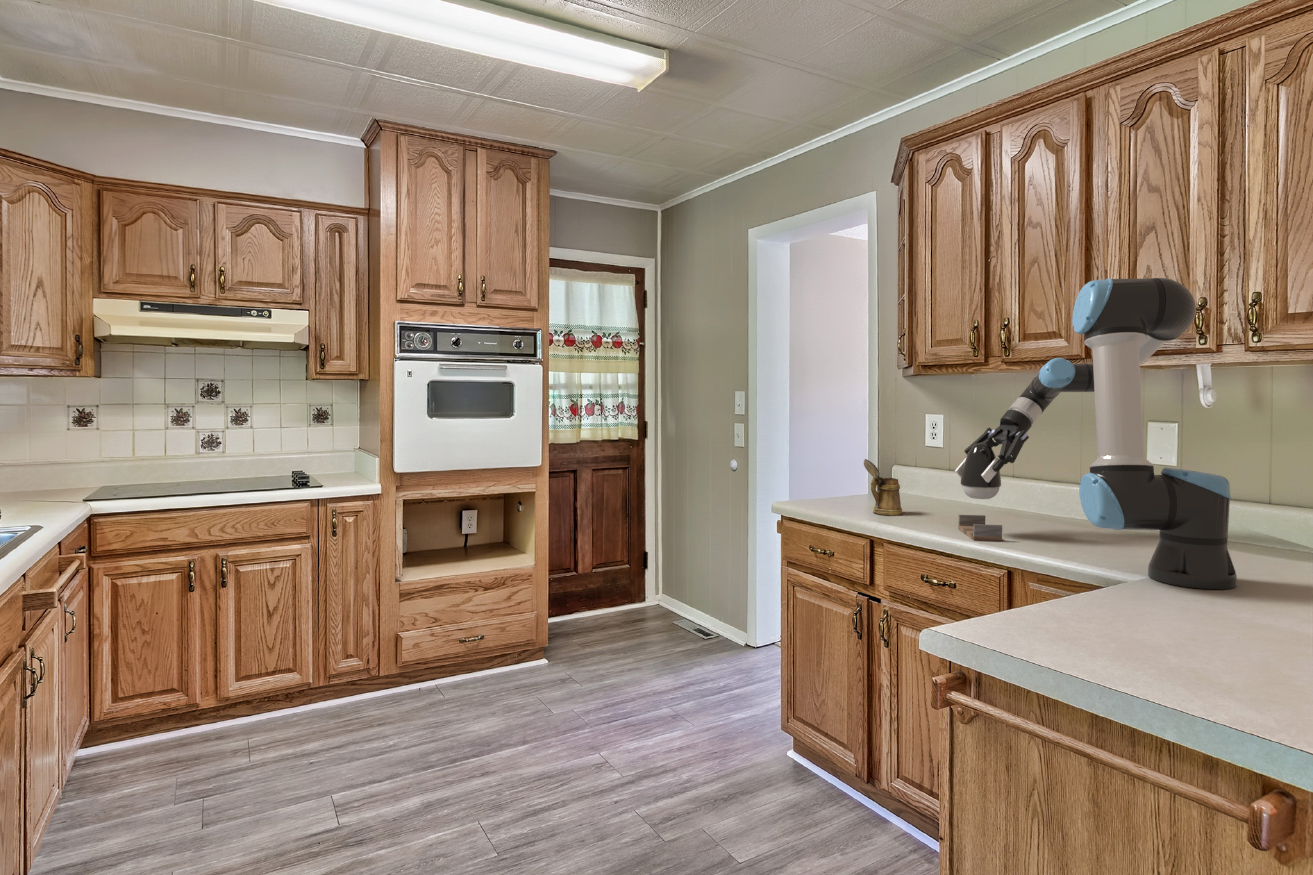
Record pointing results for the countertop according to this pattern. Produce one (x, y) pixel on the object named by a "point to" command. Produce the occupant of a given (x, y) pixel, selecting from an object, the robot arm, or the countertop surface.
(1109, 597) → the countertop surface
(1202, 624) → the countertop surface
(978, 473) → the black egg roly-poly
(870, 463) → the wooden mug
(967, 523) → the walnut riser
